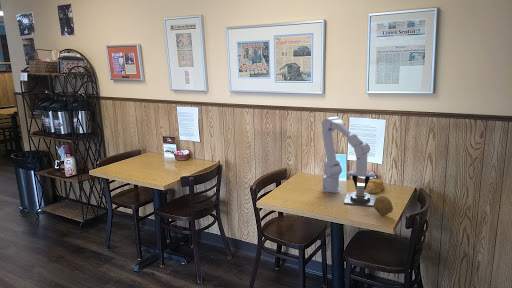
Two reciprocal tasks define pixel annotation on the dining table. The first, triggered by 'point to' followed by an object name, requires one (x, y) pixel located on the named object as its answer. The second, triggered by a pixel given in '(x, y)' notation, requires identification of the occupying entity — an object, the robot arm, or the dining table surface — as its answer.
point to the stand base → (360, 199)
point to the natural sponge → (383, 205)
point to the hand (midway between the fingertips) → (360, 189)
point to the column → (360, 190)
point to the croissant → (374, 186)
